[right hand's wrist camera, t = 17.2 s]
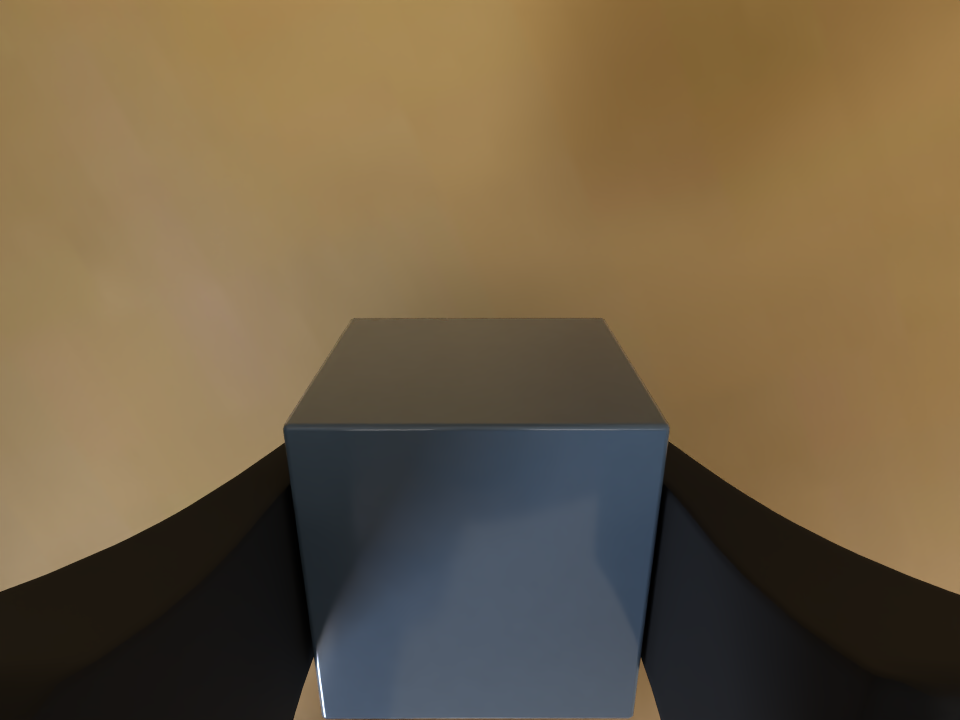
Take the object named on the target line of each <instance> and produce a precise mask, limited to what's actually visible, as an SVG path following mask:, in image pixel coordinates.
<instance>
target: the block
mask: <svg viewBox="0 0 960 720" xmlns="http://www.w3.org/2000/svg"><path fill="white" fill-rule="evenodd" d="M669 432H670V427H669V424H668V422H667V421H666V419H665V417H664V416H663V414H662V413H661V411H660V409H659V408H658V406H657V404H656V403H655V401H654V400H653V398H652V396H651V395H650V393H649V391H648V390H647V388H646V386H645V385H644V383H643V382H642V380H641V378H640V377H639V375H638V373H637V372H636V370H635V369H634V367H633V365H632V364H631V362H630V360H629V359H628V357H627V355H626V354H625V352H624V351H623V349H622V347H621V346H620V344H619V342H618V341H617V339H616V338H615V336H614V334H613V333H612V331H611V329H610V328H609V326H608V324H607V323H606V321H605V320H604V319H602V318H354V319H352V320H351V321H350V322H349V324H348V325H347V327H346V328H345V330H344V332H343V333H342V335H341V336H340V338H339V339H338V341H337V343H336V344H335V346H334V347H333V349H332V350H331V352H330V354H329V355H328V357H327V358H326V360H325V361H324V363H323V365H322V366H321V368H320V369H319V371H318V372H317V374H316V376H315V377H314V379H313V380H312V382H311V383H310V385H309V387H308V388H307V390H306V391H305V393H304V394H303V396H302V398H301V399H300V401H299V402H298V404H297V405H296V407H295V409H294V410H293V412H292V413H291V415H290V416H289V418H288V420H287V421H286V423H285V424H284V427H283V433H284V440H285V447H286V455H287V462H288V470H289V477H290V484H291V492H292V499H293V506H294V514H295V521H296V528H297V536H298V543H299V551H300V558H301V565H302V573H303V580H304V587H305V595H306V602H307V609H308V617H309V624H310V632H311V639H312V646H313V654H314V661H315V668H316V676H317V683H318V691H319V698H320V705H321V713H322V716H323V718H326V719H629V718H632V716H633V713H634V706H635V698H636V691H637V683H638V675H639V667H640V659H641V651H642V644H643V636H644V628H645V620H646V612H647V604H648V597H649V589H650V581H651V573H652V565H653V557H654V550H655V542H656V534H657V526H658V518H659V510H660V503H661V495H662V487H663V479H664V471H665V463H666V456H667V448H668V440H669Z"/></svg>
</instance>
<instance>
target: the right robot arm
mask: <svg viewBox="0 0 960 720" xmlns="http://www.w3.org/2000/svg"><path fill="white" fill-rule="evenodd" d="M313 657H314V654H313V646H312V639H311V632H310V624H309V617H308V609H307V602H306V595H305V587H304V580H303V573H302V565H301V558H300V551H299V543H298V536H297V528H296V521H295V514H294V506H293V499H292V492H291V484H290V477H289V470H288V462H287V455H286V447H285V443H284V444H282V445H281V446H279V447H278V448H276V449H275V450H274V451H272V452H271V453H269V454H268V455H267V456H265V457H264V458H262V459H261V460H259V461H258V462H256V463H255V464H254V465H252V466H251V467H249V468H248V469H246V470H245V471H243V472H242V473H241V474H239V475H238V476H236V477H235V478H233V479H231V480H230V481H228V482H227V483H225V484H224V485H222V486H220V487H219V488H217V489H216V490H214V491H212V492H211V493H209V494H208V495H206V496H204V497H203V498H201V499H200V500H198V501H196V502H195V503H193V504H192V505H190V506H188V507H187V508H185V509H183V510H181V511H180V512H178V513H176V514H174V515H173V516H171V517H169V518H167V519H165V520H164V521H162V522H160V523H158V524H156V525H154V526H152V527H150V528H148V529H146V530H144V531H142V532H140V533H138V534H136V535H134V536H132V537H131V538H129V539H126V540H124V541H122V542H120V543H118V544H116V545H114V546H112V547H109V548H107V549H105V550H102V551H100V552H98V553H95V554H93V555H91V556H88V557H86V558H84V559H81V560H79V561H77V562H75V563H72V564H70V565H68V566H65V567H63V568H61V569H58V570H56V571H54V572H51V573H49V574H46V575H44V576H41V577H39V578H36V579H33V580H31V581H28V582H25V583H23V584H20V585H17V586H15V587H12V588H9V589H7V590H4V591H1V592H0V720H293V719H294V715H295V711H296V708H297V705H298V702H299V698H300V695H301V692H302V688H303V685H304V683H305V680H306V677H307V674H308V671H309V668H310V666H311V663H312V660H313ZM641 659H642V662H643V664H644V667H645V670H646V673H647V676H648V679H649V682H650V685H651V688H652V691H653V695H654V698H655V701H656V705H657V708H658V711H659V715H660V719H661V720H960V595H959V594H956V593H953V592H950V591H947V590H945V589H942V588H939V587H937V586H934V585H932V584H929V583H926V582H924V581H921V580H918V579H916V578H913V577H911V576H908V575H906V574H903V573H901V572H898V571H896V570H894V569H891V568H889V567H887V566H884V565H882V564H880V563H877V562H875V561H872V560H870V559H868V558H865V557H863V556H861V555H858V554H856V553H854V552H852V551H850V550H848V549H845V548H843V547H841V546H839V545H837V544H835V543H833V542H831V541H829V540H827V539H825V538H823V537H821V536H819V535H817V534H815V533H813V532H811V531H809V530H807V529H805V528H803V527H801V526H799V525H797V524H795V523H793V522H792V521H790V520H788V519H786V518H784V517H783V516H781V515H779V514H777V513H776V512H774V511H772V510H770V509H769V508H767V507H765V506H764V505H762V504H761V503H759V502H757V501H756V500H754V499H752V498H751V497H749V496H747V495H746V494H744V493H742V492H741V491H739V490H738V489H736V488H735V487H733V486H732V485H730V484H729V483H727V482H726V481H724V480H723V479H721V478H720V477H718V476H717V475H715V474H714V473H712V472H711V471H709V470H708V469H707V468H705V467H704V466H702V465H701V464H699V463H698V462H697V461H695V460H694V459H692V458H691V457H690V456H688V455H687V454H685V453H684V452H683V451H681V450H680V449H678V448H677V447H676V446H674V445H673V444H671V443H670V442H669V441H668V448H667V456H666V463H665V471H664V479H663V487H662V495H661V503H660V510H659V518H658V526H657V534H656V542H655V550H654V557H653V565H652V573H651V581H650V589H649V597H648V604H647V612H646V620H645V628H644V636H643V644H642V651H641Z"/></svg>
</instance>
